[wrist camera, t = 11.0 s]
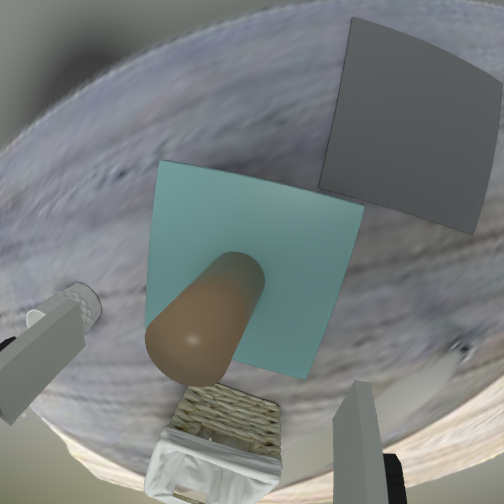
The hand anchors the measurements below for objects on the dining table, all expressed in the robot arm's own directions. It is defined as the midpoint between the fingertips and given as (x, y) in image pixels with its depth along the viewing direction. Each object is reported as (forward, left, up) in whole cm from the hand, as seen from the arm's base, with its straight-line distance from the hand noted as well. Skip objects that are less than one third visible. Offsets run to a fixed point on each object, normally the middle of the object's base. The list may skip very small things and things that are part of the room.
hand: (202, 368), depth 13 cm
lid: (0, 0, -10) cm, 10 cm away
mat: (-15, -16, -22) cm, 31 cm away
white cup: (+24, +17, -22) cm, 37 cm away
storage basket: (0, +35, -23) cm, 41 cm away
